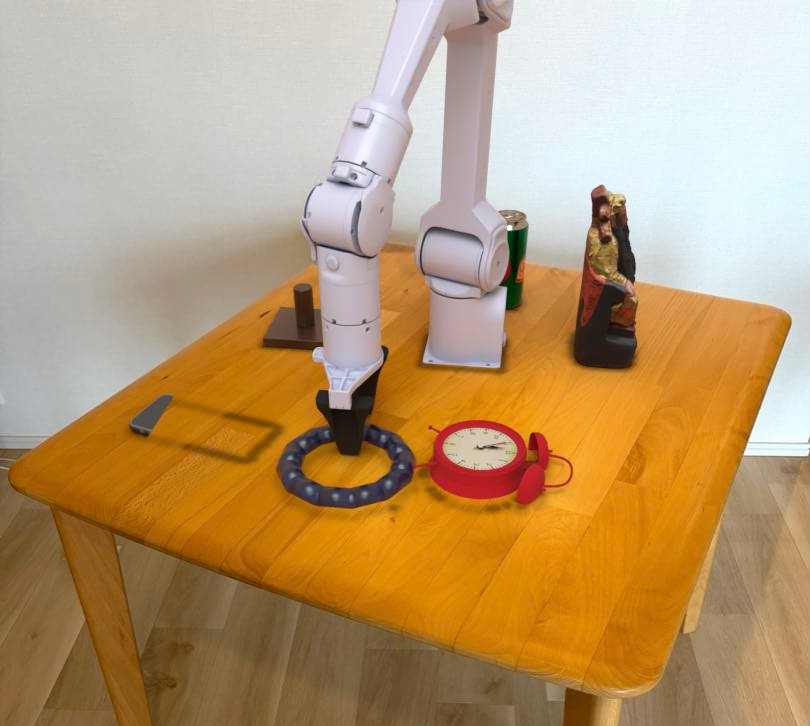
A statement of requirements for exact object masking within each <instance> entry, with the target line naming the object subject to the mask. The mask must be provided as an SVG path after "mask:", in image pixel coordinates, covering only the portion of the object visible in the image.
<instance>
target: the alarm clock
mask: <svg viewBox="0 0 810 726" xmlns="http://www.w3.org/2000/svg"><path fill="white" fill-rule="evenodd" d="M427 428H428V430H430V431H431V430H432V431H434V432H436V433H437V435H436V437H435V440H434V441H433V445H432V450H433V451H432V453H433V455H432V457H431V459H430V461H429V462H425V463H420V464H417V463H415V464H414V465H413V468H414V469H417V468H420V467H428V472H429V476H430V478H431V480H432V481H433V482H434V484H436V485H437V486H438V487H439V488H440V489H442V490H443V491H445V492H447V493H449V494H452V495H454V496H457V497H459V498H464V499H470V500H493V499H498V498H502V497H503V498H504V497H506V496H509V495H511V494H513V493H514V492H516V491H517V493H516V494H517V495H516V502H517V503H518V504H522V505H528V504H531V503H533V502H534V501H536V500H537V499H538V498H539V497H540V495H541V494H542V493H543V492H547V489H548V488H549V489H551V488H552V489H553V488H562V487H565V486H566V485H568V484H569V483H570V482H571V481H572V479H573V475H574V466H573V464H572V462H571V461H570V460H569V459H567V458H566V457H564V456H561V455H556V454H553V453H554V450H553V449H550V448H549V444H548V440H547V438H546V437H545V435H544V434H543V433H541V432H538V431H532V432H531V433H530V434H529V437H528V444H526V442H525V439H524V438H523V436H522V435H521V434H520V433H519V432H518V431H516V430H515V429H513V428H512V427H510V426H508V425H506V424H503V423H500V422H496V421H492V420H487V419H485V420H484V419H469V420H462V421H458V422H454V423H452V424H449V425H447V426H446V427H444V428H443V429H441V430H439V429H437V428H435V427H434V426H433V425H428V427H427ZM527 445H528V446H527ZM527 447H528V448H527ZM528 451H537V452H538V459H537V460H527V456H528ZM550 458H555V459H559V460H562V461H564V462H566V463H567V464H568V466H569V468H570V472H569V473H570V474H569V477H568V479H567V480H566V481H565V482H563V483H559V484H545V483H546V473H545V470H546V469H547V468H548V465H549V461H550ZM527 464H528V465H529V464H531V465H529V467H528V465H527ZM546 488H547V489H546Z"/></svg>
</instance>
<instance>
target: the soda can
mask: <svg viewBox="0 0 810 726" xmlns="http://www.w3.org/2000/svg"><path fill="white" fill-rule="evenodd" d="M497 211H498V212H499V213H500V214H501V215H502V216H503V217H504V218H505V220H506V221H507V241H508V246H509V262H508V266H507V270H506V273H505V276H504V278H503V280H502V282H501V283H500V284H499V285H498V286H503V287H507V297H506V309H505V310H511V309H515V308H516V307H518V306H519V305H520V304H521V303H522V301H523V293H524V282H525V270H526V260H527V249H528V238H529V227H530V224H529V221H528V219H527V217H528V216H527V214H526V213H524V212H523V211H520V210H517V209H501V210H497Z"/></svg>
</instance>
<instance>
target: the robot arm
mask: <svg viewBox="0 0 810 726" xmlns="http://www.w3.org/2000/svg"><path fill="white" fill-rule="evenodd" d="M514 3H515V0H395V7H394V11H393V15H392V17H391V22H390V25H389V28H388V32H387V36H386V39H385V43H384V47H383V51H382V54H381V57H380V61H379V64H378V67H377V72H376V75H375V78H374V82H373V85H372V89H371V93H370V94H368V95H366V96H363V97H362V98H359V99H358V100H356V101H355V102H354V103H353V105H352V107H351V111H350V113H349V116H348V118H347V121H346V124H345V126H344V128H343V131H342V134H341V137H340V139H339V142H338V145H337V148H336V150H335V153H334V156H333V159H332V162H331V164H330V167H329V169H328V172H327V175H326V178H325V179H323V180H321V181H320V182H319V183H316V184H314V185H313V186H311V188H310V189H309V191H308V193H307V195H306V197H305V200H304V202H303V206H302V207H303V208H302V217H301V219H300V222H299V224H300V230H301V233H302V236H303V238H304V239H305V241H306V242H307V244H308V246H309V248H310V257H311V258H310V260H311V261H313V264H314V265H316V266H317V274H318V289H319V302H320V303H319V305H320V309H321V319H322V332H323V347H317V348H315V349H313V352H312V354H311V356H312V357H311V358H312V361H313V362H314V363H319V364H322V367H323V369H324V372H325V376H326V379H327V382H328V385H329V388H328V389H318V391H317V392H316V393H317V394H316V396H315V398H314V399H315V406H316V409H317V410H318V412H319V413H321V415H322V416H323V417H324V419H325V420H326V422H327V425H328V424H329V426H330V428H331V431H332V433H333V436H334V439H335V442H334V443H335V445H336V447H337V450H338V452H339V454H341V455H354V456H358V455H360V452H361V450H362V446H363V442H364V441H363V433H364V426H365V423H366V420H367V417H368V416H371V415H372V413H373V409H374V407H375V401H376V395H377V389H378V382H379V378H380V375H381V372H382V369H383V367H384V365H385V364H386V361H387V360H388V357H389V355H390V352H389V351H390V349H389V347H388V346H386V345H383V344H382V323H381V322H382V315H381V314H382V313H381V312H382V311H381V269H380V267H381V266H380V264H381V263H380V252H381V251H382V250H383V248H384V247H385V245H386V243H387V240H388V238H389V236H390V234H391V231H392V226H393V216H394V215H393V213H394V212H393V209H394V204H395V201H396V198H395V197H396V192H395V191H394V190H393V187H394V185H395V182H396V179H397V176H398V174H399V171H400V168H401V165H402V163H403V161H404V157H405V155H406V153H407V150H408V147H409V144H410V141H411V139H412V136H413V133H414V127H413V123H412V121H411V119H410V115H409V108H410V107H411V105H412V102H413V100H414V98H415V96H416V94H417V92H418V89H419V88H420V86H421V84H422V81H423V79H424V77H425V75H426V72H427V71H428V68H429V66H430V64H431V63H432V60H433V58H434V56H435V53H436V51H437V49H438V47H439V45H440V43H441V40H442V39H443V37H444V39H445V40H446V43H447V44H446V66H445V84H444V85H445V87H444V109H443V110H444V111H443V112H444V113H443V129H442V154H441V155H442V156H441V177H440V196H439V197H440V198H439V199H440V200H439V201H438V202H436V203H435V204H433V205H431V206H430V207H428V208H427V209H426V210H425V211H424V212H423V214H422V215H421V216H420V220H419V221H420V222H419V228H418V229H419V230H418V235H417V238H416V241H415V244H414V245H415V246H414V252H413V255H414V264H415V266H416V270H417V272H418V274H419V275H420V276H423V277H424V286H427V287H429V321H428V322H429V323H428V324H429V325H428V335H427V341H426V345H425V349H424V353H423V357H422V364H429V365H430V364H431V365H445V366H446V365H448V366H462V367H463V366H464V367H478V368H494V369H501V367H502V366H501V365H502V355H503V354H502V353H503V348H505V347H506V342H507V340H506V339H507V331H505V319H506V310H507V309H506V297H507V287H503V286H498V285H499V284H500V283H501V282H502V280H503V278H504V276H505V273H506V270H507V266H508V262H509V246H508V241H507V221H506V220H505V218H504V217H503V216H502V215H501V214H500V213H499V212H498V211H499V210H497V209H496V208H495V207H494V206H493V205H492V204H491V203H490V202H489V201H488V200H487V188H488V187H487V186H488V174H489V171H488V170H489V163H490V162H489V160H490V150H491V149H490V148H491V136H492V135H491V133H492V123H493V122H492V121H493V109H494V96H495V83H496V72H497V71H496V69H497V57H498V45H499V44H498V43H499V34H500V33H502V32H504V31H507V30H509V29H510V28H511V26H512V16H513V11H514V5H515V4H514Z"/></svg>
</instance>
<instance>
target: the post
mask: <svg viewBox="0 0 810 726" xmlns="http://www.w3.org/2000/svg"><path fill="white" fill-rule="evenodd" d="M292 291H293V302H294V307H293V306H292V307H291V306H279V308H278V310H277V312H276V313H275V315H274V318H273V319H272V320H271V323H270V325H269V327H268V328H267V330H266V331H265V334H264V336H263V337H262V341H263V347H270V348H283V349H300V350H314V349H315V348H317V347H323V332H322V319H321V308H315V303H314V291H313V286H312V284H310V283H307V282H306V283H305V282H301V283H297V284H294V285H293V287H292Z"/></svg>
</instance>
